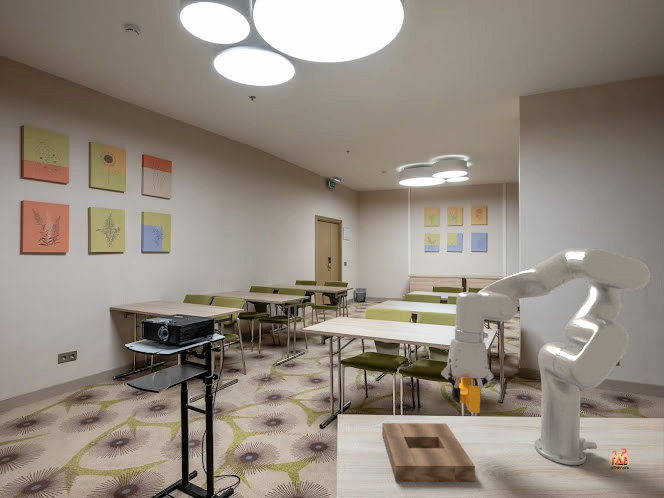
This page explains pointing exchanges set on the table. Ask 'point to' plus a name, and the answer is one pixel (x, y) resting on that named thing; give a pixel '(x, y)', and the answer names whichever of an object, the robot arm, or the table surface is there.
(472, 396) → the orange curved block
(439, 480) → the cutout shelf
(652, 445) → the table surface
